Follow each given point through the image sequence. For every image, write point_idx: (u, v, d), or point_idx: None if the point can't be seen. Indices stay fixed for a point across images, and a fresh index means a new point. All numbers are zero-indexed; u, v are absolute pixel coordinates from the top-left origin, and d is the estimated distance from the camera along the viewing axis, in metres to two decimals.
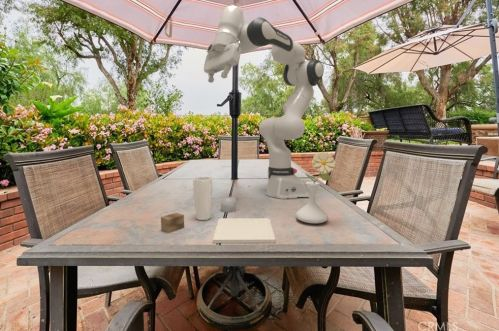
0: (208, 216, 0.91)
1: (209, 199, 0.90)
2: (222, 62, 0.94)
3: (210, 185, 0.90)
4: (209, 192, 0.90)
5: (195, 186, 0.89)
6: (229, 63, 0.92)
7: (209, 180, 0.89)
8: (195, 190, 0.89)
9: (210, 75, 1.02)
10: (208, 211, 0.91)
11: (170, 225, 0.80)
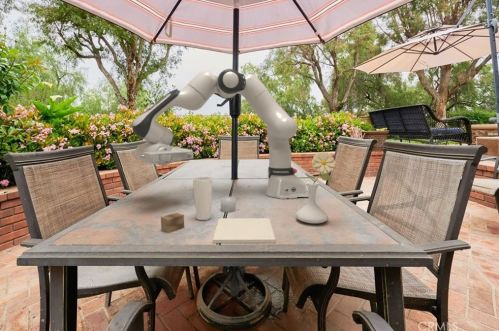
0: (208, 216, 0.91)
1: (209, 199, 0.90)
2: (164, 161, 0.98)
3: (210, 185, 0.90)
4: (209, 192, 0.90)
5: (195, 186, 0.89)
6: (157, 159, 0.95)
7: (209, 180, 0.89)
8: (195, 190, 0.89)
9: None
10: (208, 211, 0.91)
11: (170, 225, 0.80)
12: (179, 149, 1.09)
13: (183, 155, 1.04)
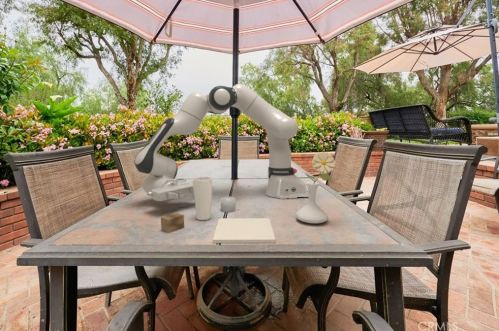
0: (208, 216, 0.91)
1: (209, 199, 0.90)
2: (171, 198, 0.97)
3: (210, 185, 0.90)
4: (209, 192, 0.90)
5: (195, 186, 0.89)
6: (164, 197, 0.94)
7: (209, 180, 0.89)
8: (195, 190, 0.89)
9: None
10: (208, 211, 0.91)
11: (170, 225, 0.80)
12: (186, 182, 1.09)
13: (190, 189, 1.04)
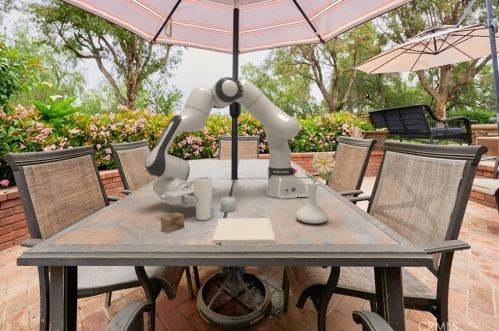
0: (208, 216, 0.91)
1: (209, 199, 0.90)
2: None
3: (210, 185, 0.90)
4: (209, 192, 0.90)
5: (195, 186, 0.89)
6: (179, 201, 0.88)
7: (209, 180, 0.89)
8: (195, 190, 0.89)
9: None
10: (208, 211, 0.91)
11: (170, 225, 0.80)
12: None
13: None
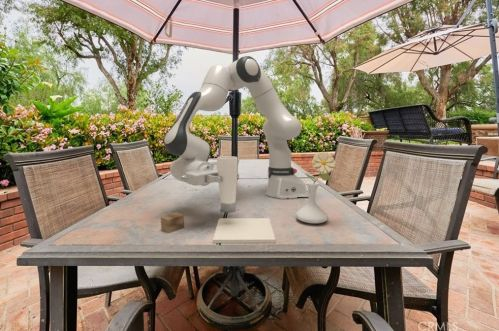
0: (233, 199, 0.83)
1: (235, 180, 0.82)
2: (209, 183, 0.83)
3: (236, 164, 0.81)
4: (235, 172, 0.81)
5: (220, 165, 0.80)
6: (202, 181, 0.80)
7: (235, 159, 0.81)
8: (219, 170, 0.80)
9: None
10: (233, 193, 0.82)
11: (170, 225, 0.80)
12: None
13: None
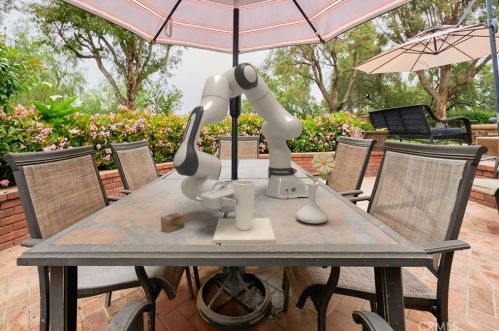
0: (250, 225, 0.79)
1: (252, 206, 0.78)
2: (224, 205, 0.79)
3: (253, 190, 0.78)
4: (252, 198, 0.78)
5: (236, 191, 0.77)
6: (218, 203, 0.76)
7: (252, 184, 0.77)
8: (236, 196, 0.77)
9: None
10: (250, 220, 0.79)
11: (170, 225, 0.80)
12: None
13: None
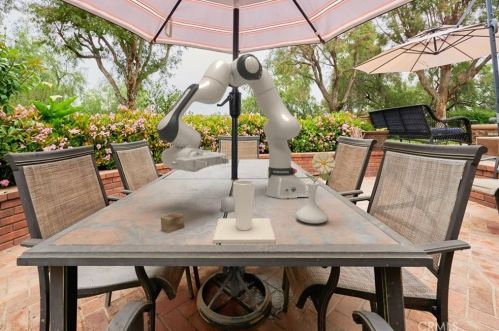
0: (250, 225, 0.79)
1: (252, 206, 0.78)
2: (198, 168, 0.86)
3: (253, 190, 0.78)
4: (252, 198, 0.78)
5: (236, 191, 0.77)
6: (192, 165, 0.83)
7: (252, 184, 0.77)
8: (236, 196, 0.77)
9: (223, 161, 0.92)
10: (250, 220, 0.79)
11: (170, 225, 0.80)
12: (211, 153, 0.97)
13: (217, 160, 0.93)
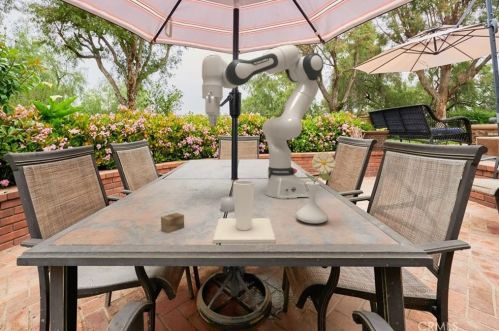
0: (250, 225, 0.79)
1: (252, 206, 0.78)
2: None
3: (253, 190, 0.78)
4: (252, 198, 0.78)
5: (236, 191, 0.77)
6: (209, 114, 1.04)
7: (252, 184, 0.77)
8: (236, 196, 0.77)
9: (213, 120, 1.17)
10: (250, 220, 0.79)
11: (170, 225, 0.80)
12: (219, 103, 1.17)
13: (214, 115, 1.16)
